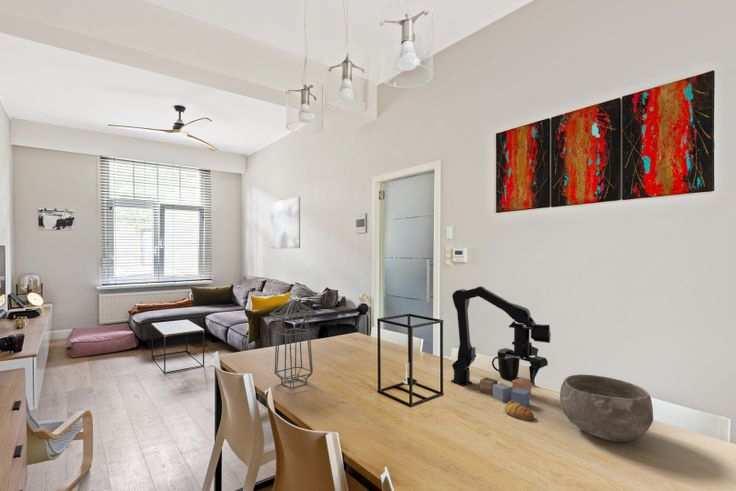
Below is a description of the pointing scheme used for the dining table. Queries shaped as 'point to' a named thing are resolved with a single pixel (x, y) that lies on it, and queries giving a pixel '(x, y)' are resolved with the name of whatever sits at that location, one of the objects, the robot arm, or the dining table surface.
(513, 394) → the blue cube
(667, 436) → the dining table surface
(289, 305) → the geometric lantern
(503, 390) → the slate cube
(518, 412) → the pastry
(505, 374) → the mug
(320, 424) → the dining table surface
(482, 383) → the walnut cube
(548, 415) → the dining table surface
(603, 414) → the bowl
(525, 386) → the terracotta cube
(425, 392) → the dining table surface
